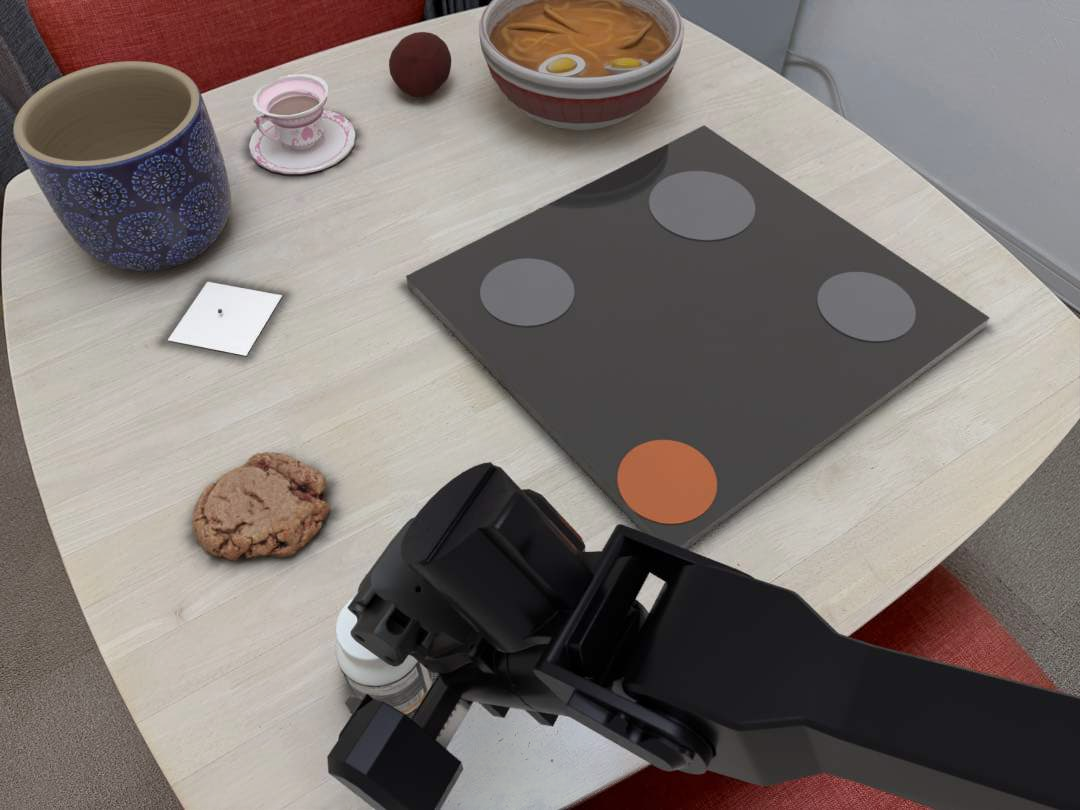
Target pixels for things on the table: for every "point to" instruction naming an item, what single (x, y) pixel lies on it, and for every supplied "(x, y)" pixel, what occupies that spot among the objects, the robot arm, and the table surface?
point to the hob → (692, 328)
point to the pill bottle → (378, 670)
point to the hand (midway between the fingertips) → (395, 640)
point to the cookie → (261, 508)
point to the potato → (420, 64)
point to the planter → (128, 163)
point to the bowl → (580, 56)
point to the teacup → (298, 127)
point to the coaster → (225, 318)
